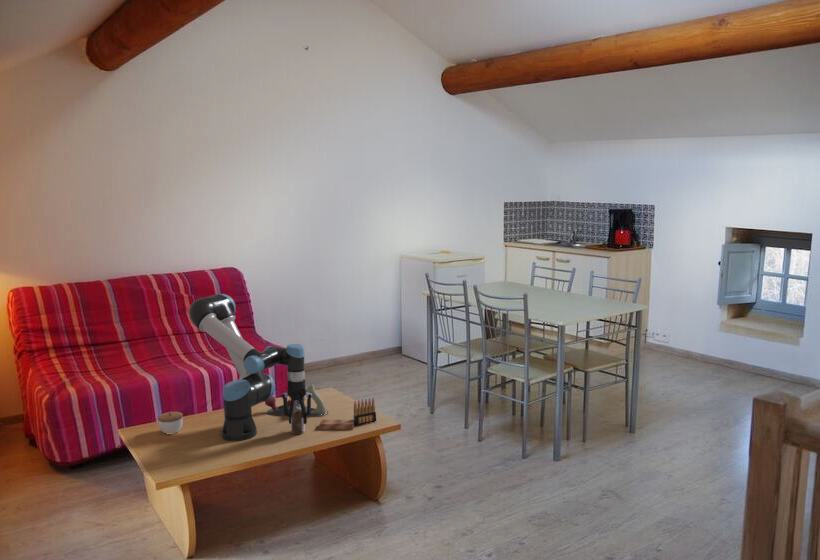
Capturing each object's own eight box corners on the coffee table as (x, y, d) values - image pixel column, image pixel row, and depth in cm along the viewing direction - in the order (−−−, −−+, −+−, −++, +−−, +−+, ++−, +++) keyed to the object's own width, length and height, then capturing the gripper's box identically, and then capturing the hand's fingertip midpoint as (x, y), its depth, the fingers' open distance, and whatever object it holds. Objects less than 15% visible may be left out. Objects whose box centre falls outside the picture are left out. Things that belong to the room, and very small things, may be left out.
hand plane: (325, 417, 334) (323, 386, 332) (263, 414, 340) (261, 384, 338) (329, 412, 341) (328, 382, 339) (268, 409, 347) (267, 380, 345)
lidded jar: (159, 438, 313) (157, 417, 311) (158, 430, 322) (156, 410, 321) (185, 434, 317) (183, 414, 315) (183, 426, 326) (181, 406, 325)
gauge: (292, 433, 313) (291, 412, 311) (297, 425, 322) (296, 404, 321) (301, 434, 312) (300, 412, 311) (306, 425, 322) (305, 404, 321)
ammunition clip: (374, 421, 328) (374, 396, 326) (376, 422, 326) (375, 397, 324) (353, 425, 323) (352, 400, 321) (354, 426, 321) (353, 401, 320)
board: (319, 429, 318) (319, 424, 318) (321, 425, 324) (321, 419, 323) (352, 429, 317) (352, 424, 317) (354, 425, 322) (354, 419, 322)
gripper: (275, 382, 308) (277, 433, 312) (313, 382, 307) (315, 434, 311) (279, 376, 316) (281, 427, 320) (317, 377, 315) (318, 427, 318)
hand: (298, 430), depth 315 cm, fingers closed on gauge, 4 cm apart
